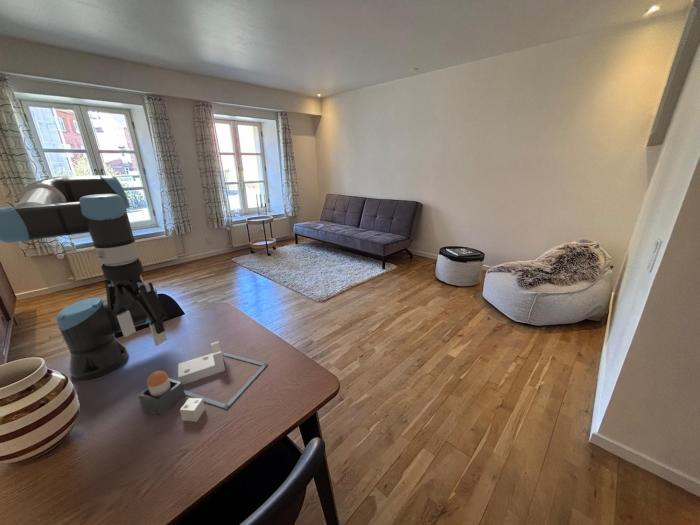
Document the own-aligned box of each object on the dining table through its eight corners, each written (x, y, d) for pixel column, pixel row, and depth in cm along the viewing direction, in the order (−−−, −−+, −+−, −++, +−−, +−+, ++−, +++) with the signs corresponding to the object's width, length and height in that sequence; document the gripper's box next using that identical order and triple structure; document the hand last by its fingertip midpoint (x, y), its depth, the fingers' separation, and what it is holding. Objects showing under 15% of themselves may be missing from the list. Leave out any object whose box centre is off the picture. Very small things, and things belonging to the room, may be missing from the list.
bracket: (222, 358, 100) (218, 341, 97) (225, 370, 94) (221, 352, 91) (180, 372, 94) (175, 353, 91) (181, 386, 88) (175, 366, 85)
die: (182, 420, 76) (179, 409, 74) (191, 408, 80) (188, 397, 78) (196, 421, 76) (193, 410, 74) (205, 409, 79) (202, 398, 78)
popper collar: (142, 408, 80) (137, 394, 78) (167, 389, 86) (163, 376, 85) (161, 416, 77) (157, 402, 76) (185, 395, 84) (181, 382, 82)
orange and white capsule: (147, 398, 79) (140, 377, 77) (163, 385, 84) (157, 365, 81) (160, 402, 78) (153, 381, 75) (176, 389, 82) (170, 369, 80)
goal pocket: (178, 393, 85) (178, 391, 85) (225, 353, 102) (225, 352, 102) (226, 409, 79) (226, 408, 79) (267, 364, 96) (267, 363, 96)
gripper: (71, 260, 67) (100, 337, 75) (139, 272, 60) (164, 356, 67) (105, 251, 74) (129, 323, 81) (171, 260, 66) (190, 338, 74)
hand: (145, 338), depth 74 cm, fingers open, 11 cm apart
